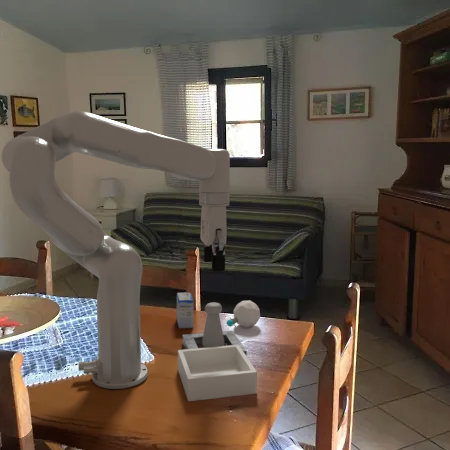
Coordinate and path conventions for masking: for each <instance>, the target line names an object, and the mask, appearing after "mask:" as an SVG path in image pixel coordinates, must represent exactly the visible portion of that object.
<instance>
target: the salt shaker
mask: <svg viewBox="0 0 450 450" xmlns="http://www.w3.org/2000/svg"><path fill="white" fill-rule="evenodd" d="M204 311H205V314H207V315H206V318H205V325H204V331H203V333H204V335H203V340H202V345H203V346H202V348H208V347H219V346H225V344H224V337H223V327H222V323H221V317H220V315H221V313H222V311H223V307H222V305H221V303H219V302H215V301H214V302H209V303H207V304H206V305H205V307H204Z"/></svg>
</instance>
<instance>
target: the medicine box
mask: <svg viewBox="0 0 450 450" xmlns="http://www.w3.org/2000/svg"><path fill="white" fill-rule="evenodd" d="M194 305H195V304H194V299H193V295H192V293H191V292H177V293H176V322H177V326H178V328H179V329H192V328H194V308H195V307H194Z"/></svg>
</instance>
